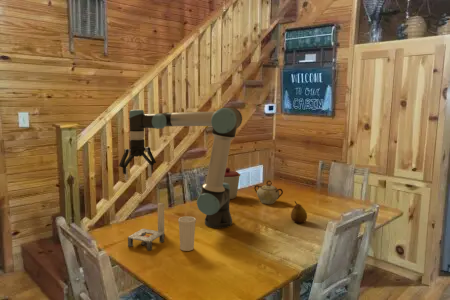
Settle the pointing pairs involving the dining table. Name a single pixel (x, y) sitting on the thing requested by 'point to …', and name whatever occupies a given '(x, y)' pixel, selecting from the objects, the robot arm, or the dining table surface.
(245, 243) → the dining table surface
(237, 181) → the canister
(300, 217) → the fruit
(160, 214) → the beige rod
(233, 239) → the dining table surface
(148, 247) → the stand
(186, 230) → the cup
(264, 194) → the sugar bowl
